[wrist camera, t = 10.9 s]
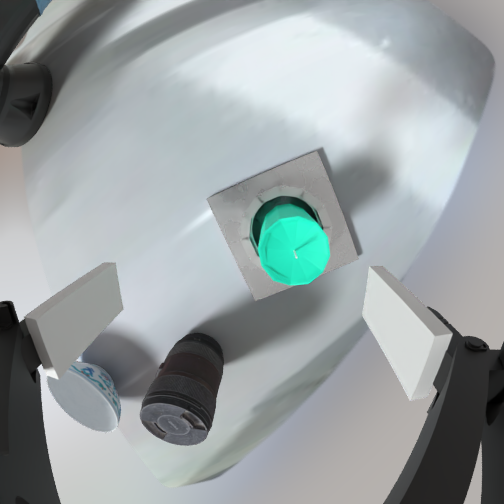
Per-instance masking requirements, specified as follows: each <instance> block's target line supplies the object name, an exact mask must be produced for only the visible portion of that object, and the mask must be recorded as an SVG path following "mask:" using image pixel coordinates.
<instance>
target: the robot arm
mask: <svg viewBox="0 0 504 504" xmlns="http://www.w3.org/2000/svg"><path fill="white" fill-rule="evenodd" d="M51 1H52V0H0V144H1V145H3V146H5V147H19V146H22V145H23V144H25V143H26V142H28V141H29V140H30V139H31V138H32V137H33V135H34V134H35V133H36V131H37V130H38V128H39V126H40V125H41V123H42V121H43V119H44V116H45V114H46V111H47V108H48V105H49V102H50V97H51V91H52V80H51V75H50V72H49V70H48V69H47V68H46V67H45V66H43V65H41V64H38V63H34V62H29V63H24V64H16V65H5V63H6V61H7V60H8V58H9V57H10V55H11V54H12V52H13V51H14V49H15V48H16V46H17V45H18V43H19V42H20V40H21V39H22V38H23V36H24V35H25V34H26V32H27V31H28V30H29V28H30V27H31V26H32V25H33V23H34V22H35V21H36V20H37V18H38V17H39V16H41V15H42V13H43V11H44V9H45V8H46V7H47V6H48V4H49V3H50V2H51ZM122 310H123V304H122V299H121V294H120V288H119V282H118V276H117V269H116V263H107V262H104V263H102V264H101V265H99V266H98V267H96V268H95V269H93V270H91V271H90V272H88V273H87V274H85V275H84V276H82V277H81V278H79V279H78V280H76V281H75V282H73V283H72V284H70V285H69V286H67V287H66V288H64V289H63V290H61V291H60V292H58V293H57V294H55V295H54V296H52V297H51V298H50V299H48V300H47V301H45V302H44V303H42V304H41V305H40V306H38V307H37V308H35V309H34V310H33V311H31V312H30V313H28V314H27V315H26V316H25V317H24V318H25V319H24V320H22V321H21V322H20V323H19V320H18V317H17V314H16V311H15V308H14V304H13V302H11V301H2V302H0V504H61V503H60V499H59V496H58V493H57V489H56V485H55V481H54V477H53V473H52V469H51V464H50V459H49V454H48V449H47V443H46V436H45V429H44V422H43V412H42V402H41V384H40V374H39V371H38V369H37V368H38V366H40V365H41V364H42V366H43V368H44V370H45V373H46V375H47V376H50V377H53V378H55V379H58V380H59V379H60V378H61V377H62V376H63V375H64V373H65V372H66V371H67V370H68V369H69V368H70V367H71V365H72V364H73V363H74V362H75V361H76V360H77V359H78V358H79V356H80V355H81V354H82V353H83V352H84V351H85V350H86V349H87V348H88V346H89V345H90V344H91V343H92V342H93V341H94V340H95V339H96V338H97V337H98V336H99V334H100V333H101V332H102V331H103V330H104V329H105V328H106V327H107V326H108V325H109V324H110V323H111V322H112V321H113V319H114V318H115V317H116V316H117V315H118V314H119V313H120V312H121V311H122ZM362 316H363V318H364V319H365V321H366V323H367V324H368V326H369V328H370V330H371V331H372V333H373V335H374V336H375V338H376V340H377V342H378V343H379V345H380V347H381V348H382V350H383V352H384V354H385V356H386V357H387V359H388V361H389V363H390V364H391V366H392V368H393V370H394V372H395V374H396V375H397V377H398V379H399V381H400V383H401V385H402V387H403V388H404V390H405V392H406V394H407V395H408V398H409V400H410V401H412V400H417V399H421V398H426V397H427V396H428V394H429V392H430V390H431V388H432V386H433V385H434V386H435V388H436V389H437V393H436V395H435V397H434V400H433V402H432V404H431V405H430V407H429V410H428V411H427V413H428V416H427V419H426V421H425V424H424V426H423V428H422V431H421V433H420V435H419V438H418V440H417V442H416V444H415V447H414V449H413V451H412V453H411V455H410V457H409V459H408V461H407V463H406V465H405V467H404V469H403V471H402V473H401V475H400V476H399V478H398V480H397V482H396V483H395V485H394V487H393V489H392V490H391V492H390V494H389V495H388V497H387V499H386V500H385V502H384V503H383V504H463V503H464V500H465V498H466V495H467V491H468V489H469V486H470V482H471V479H472V476H473V472H474V468H475V464H476V461H477V456H478V452H479V448H480V442H481V444H482V494H481V504H504V342H503V345H502V347H501V350H490V349H489V346H488V345H487V344H486V343H485V342H484V341H483V340H481V339H479V338H476V337H472V336H464V337H463V336H462V335H461V334H460V333H459V332H458V331H457V330H456V329H455V328H454V327H453V326H452V325H451V324H448V321H447V320H446V319H444V318H443V317H442V316H441V315H440V314H439V313H438V312H437V311H436V310H434V309H432V308H430V307H426V306H425V305H424V304H423V303H422V302H421V301H420V300H419V299H418V298H417V297H416V296H415V295H414V294H413V293H412V292H410V291H409V290H408V289H407V288H406V287H405V286H404V285H403V284H402V283H401V282H400V281H399V280H398V279H396V278H395V277H394V276H393V275H392V274H391V273H390V272H389V271H388V270H387V269H385V268H384V267H383V266H369V273H368V281H367V288H366V294H365V301H364V307H363V313H362Z"/></svg>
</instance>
